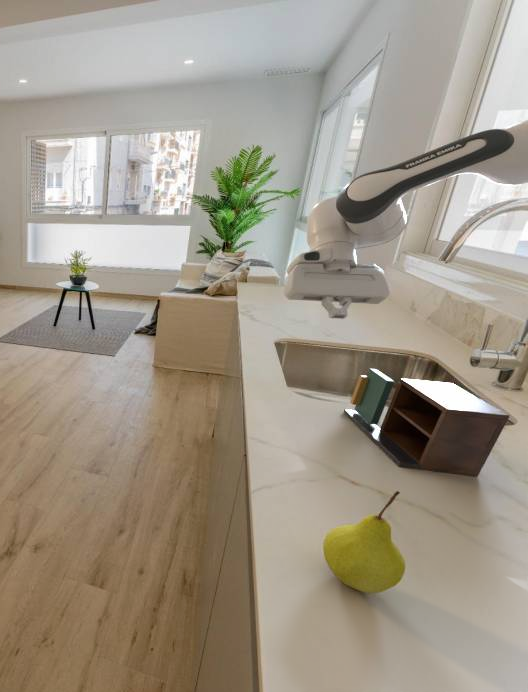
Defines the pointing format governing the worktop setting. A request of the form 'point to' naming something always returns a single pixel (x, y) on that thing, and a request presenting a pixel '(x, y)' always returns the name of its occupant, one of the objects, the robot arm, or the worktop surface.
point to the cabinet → (436, 428)
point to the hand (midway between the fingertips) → (338, 317)
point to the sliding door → (372, 395)
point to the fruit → (365, 554)
